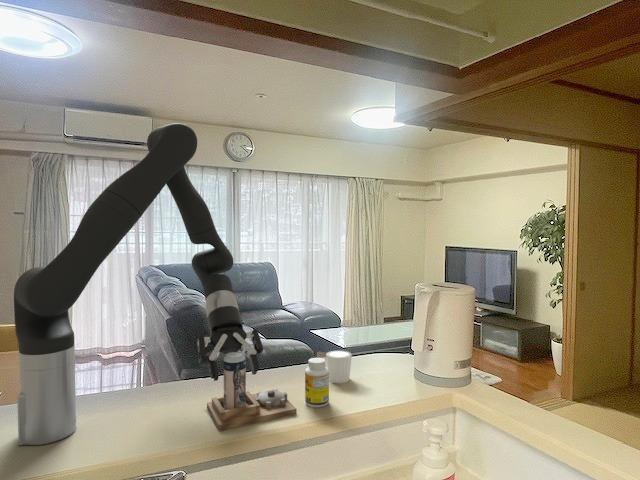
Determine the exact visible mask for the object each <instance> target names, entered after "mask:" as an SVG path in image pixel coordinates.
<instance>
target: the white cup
mask: <svg viewBox="0 0 640 480" xmlns="http://www.w3.org/2000/svg"><path fill="white" fill-rule="evenodd" d="M325 354H326V355H325V356H326V367H327V368H328V369H329V382H331V383H334V384H346V383H348V382H349V381H350V378H351V377H350V376H351V368H352V367H351V366H352V355H353V354H352V353H351V352H350V351H346V350H331V351H328V352H326V353H325Z"/></svg>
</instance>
